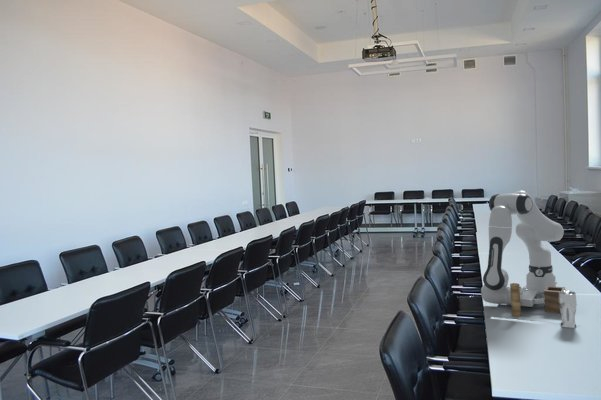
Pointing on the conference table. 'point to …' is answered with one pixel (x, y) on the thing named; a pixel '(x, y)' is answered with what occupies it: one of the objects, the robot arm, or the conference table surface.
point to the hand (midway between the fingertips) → (545, 298)
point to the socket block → (552, 298)
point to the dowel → (515, 299)
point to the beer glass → (567, 308)
